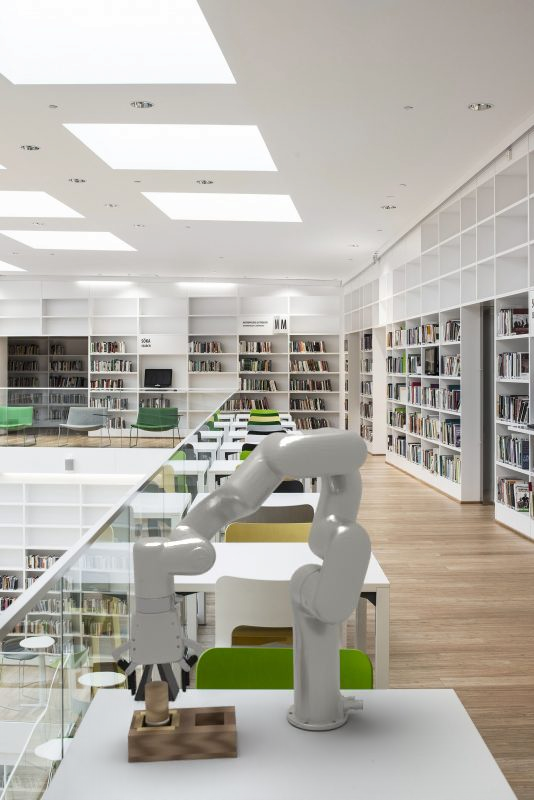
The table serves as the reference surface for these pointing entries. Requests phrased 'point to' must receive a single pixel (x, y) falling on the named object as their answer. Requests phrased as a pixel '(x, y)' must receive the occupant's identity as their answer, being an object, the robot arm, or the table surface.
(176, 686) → the phone stand
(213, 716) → the board
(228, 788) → the table surface
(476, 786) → the table surface
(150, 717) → the peg
